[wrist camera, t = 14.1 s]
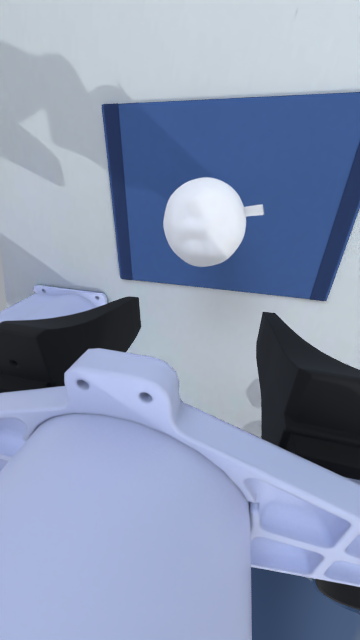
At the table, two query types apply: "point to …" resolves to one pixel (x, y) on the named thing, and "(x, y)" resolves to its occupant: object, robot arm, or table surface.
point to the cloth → (240, 186)
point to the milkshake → (206, 221)
